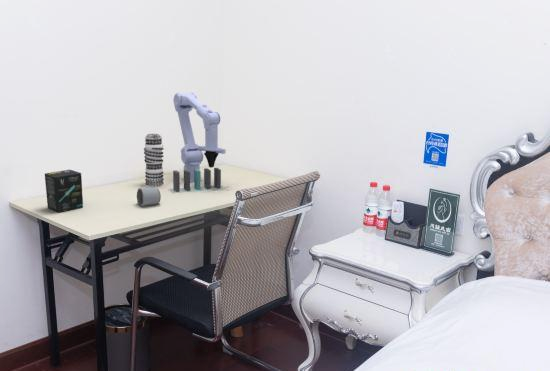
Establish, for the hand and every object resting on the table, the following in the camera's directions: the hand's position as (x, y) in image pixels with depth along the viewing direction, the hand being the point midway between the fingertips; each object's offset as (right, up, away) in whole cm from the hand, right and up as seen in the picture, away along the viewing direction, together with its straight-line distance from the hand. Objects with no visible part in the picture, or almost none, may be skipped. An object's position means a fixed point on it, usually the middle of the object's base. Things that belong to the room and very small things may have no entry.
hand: (211, 167), depth 247 cm
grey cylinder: (-24, -17, -26) cm, 39 cm away
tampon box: (-55, -18, -36) cm, 68 cm away
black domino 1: (-16, -11, -5) cm, 20 cm away
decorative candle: (-28, -9, +3) cm, 29 cm away
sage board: (-7, -11, 0) cm, 13 cm away
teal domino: (-7, -10, -1) cm, 12 cm away
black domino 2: (-11, -11, -3) cm, 16 cm away
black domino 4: (+2, -9, +4) cm, 10 cm away
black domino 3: (-2, -10, +2) cm, 10 cm away
